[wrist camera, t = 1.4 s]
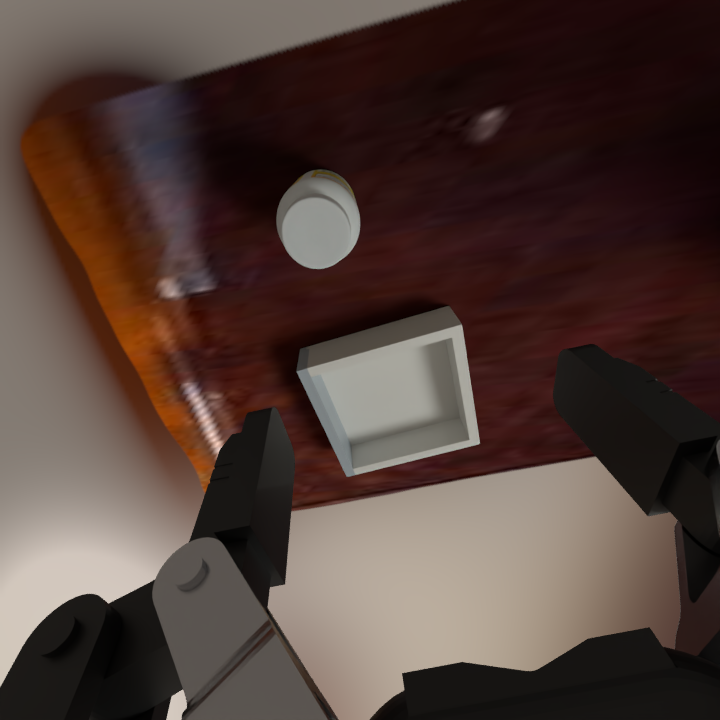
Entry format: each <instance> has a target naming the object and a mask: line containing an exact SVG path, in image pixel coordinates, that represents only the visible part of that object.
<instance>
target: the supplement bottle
mask: <svg viewBox="0 0 720 720" xmlns="http://www.w3.org/2000/svg"><path fill="white" fill-rule="evenodd" d="M276 222H277V230H278V234H279V237H280V239H281V241H282V243H283V245H284V247H285V249H286V250H287V252H288V254H289V255H290V256H291V257H292V258H293V259H294V260H295V261H296V262H298V263H299V264H301V265H303V266H305V267H308V268H312V269H323V268H327V267H330V266H332V265H334V264H336V263H337V262H339V261H340V260H342V259H343V258H344V257H346V256H347V255H348V254H349V253H350V251H351V250H352V249H353V247H354V246H355V244H356V242H357V239H358V236H359V231H360V215H359V211H358V207H357V204H356V200H355V196H354V194H353V191H352V189H351V187H350V186H349V184H348V183H347V182H346V181H345V180H344V179H343V178H342V177H341V176H340V175H338V174H336V173H334V172H332V171H328V170H322V169H319V170H313V171H310V172H307V173H305V174H304V175H302V176H301V177H300V178H299V179H298V180H297V181H296V182H295V183H294V184H293V185H292V186H291V187H290V188H289V189H288V190H287V191H286V193H285V194H284V195H283V197H282V199H281V201H280V203H279V206H278V210H277V218H276Z"/></svg>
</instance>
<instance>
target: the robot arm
mask: <svg viewBox="0 0 720 720" xmlns="http://www.w3.org/2000/svg"><path fill="white" fill-rule="evenodd" d="M553 399H554V404H555V407H556V409H557V411H558V413H559V414H560V415H561V417H562V418H563V419H564V420H565V421H566V422H567V424H568V425H569V426H570V427H571V428H572V429H573V431H574V432H575V433H576V434H577V435H578V436H579V437H580V439H581V440H582V441H583V442H584V443H585V444H586V445H587V447H588V448H589V449H590V450H591V451H592V452H593V454H594V455H595V456H596V457H597V458H598V459H599V460H600V462H601V463H602V464H603V465H604V466H605V467H606V468H607V470H608V471H609V472H610V473H611V474H612V475H613V477H614V478H615V479H616V480H617V481H618V482H619V483H620V485H621V486H622V487H623V488H624V489H625V490H626V492H627V493H628V494H629V495H630V496H631V497H632V498H633V500H634V501H635V502H636V503H637V504H638V505H639V506H640V508H641V509H642V510H643V511H644V512H645V513H646V515H647V516H652V515H657V514H663V513H668V512H671V513H672V514H673V515H674V517H675V518H676V519H677V520H678V521H677V523H676V525H675V530H674V532H675V544H676V557H677V569H678V582H679V594H680V620H679V625H678V629H677V633H676V639H675V649H670V648H666V647H662V645H661V644H660V642H659V641H658V639H657V638H656V636H655V635H654V633H653V632H652V630H651V629H650V628H644V629H638V630H633V631H627V632H622V633H616V634H611V635H606V636H600V637H595V638H590V639H587V640H585V641H584V642H582V643H581V644H579V645H577V646H576V647H574V648H572V649H571V650H569V651H567V652H566V653H564V654H563V655H561V656H559V657H558V658H556V659H554V660H553V661H551V662H549V663H548V664H546V665H545V666H543V667H541V668H540V669H538V670H535V671H521V670H514V669H507V668H500V667H493V666H486V665H478V664H472V663H464V662H461V663H455V664H450V665H444V666H439V667H434V668H428V669H423V670H418V671H412V672H407V673H402V676H403V682H404V689H405V690H404V691H403V692H401V693H399V694H397V695H396V696H394V697H393V698H391V699H390V700H389V701H388V702H387V703H385V704H384V705H383V706H382V707H381V708H380V709H379V710H378V711H377V712H376V713H375V714H374V715H373V716H372V718H371V719H370V720H720V423H718V422H717V421H716V420H714V419H713V418H711V417H710V416H709V415H707V414H706V413H704V412H703V411H702V410H700V409H699V408H697V407H696V406H694V405H693V404H692V403H690V402H689V401H687V400H686V399H685V398H683V397H682V396H680V395H679V394H678V393H676V392H675V393H673V392H672V389H671V388H669V387H668V386H666V385H665V384H663V383H662V382H658V381H657V379H656V378H655V377H654V376H652V375H651V374H649V373H648V372H647V371H645V370H644V369H642V368H641V367H639V366H637V365H634V364H632V363H629V362H627V361H624V360H622V359H619V358H613V357H612V356H610V355H609V354H608V353H606V352H605V351H604V350H602V349H601V348H599V347H598V346H596V345H594V344H589V345H584V346H579V347H574V348H569V349H564V350H562V351H561V352H560V354H559V357H558V364H557V371H556V378H555V384H554V391H553ZM214 467H215V469H214V470H213V472H212V475H211V478H210V484H208V487H207V490H206V493H205V496H204V499H203V503H202V505H201V509H200V511H199V514H198V517H197V521H196V524H195V527H194V529H193V532H192V536H191V538H190V541H189V543H187V544H185V545H184V546H182V547H181V548H179V549H178V550H177V551H176V552H175V553H173V554H172V556H171V557H170V558H169V559H168V560H167V561H166V562H165V563H164V565H163V566H162V568H161V569H160V571H159V573H158V575H157V577H156V579H155V580H153V581H152V582H150V583H148V584H146V585H144V586H142V587H140V588H138V589H137V590H134V591H133V592H130V593H129V594H127V595H125V596H123V597H121V598H119V599H117V600H115V601H113V602H111V603H109V604H108V603H107V602H106V601H105V600H103V599H102V598H101V597H100V596H98V595H95V594H85V595H81V596H78V597H75V598H73V599H71V600H69V601H67V602H66V603H64V604H62V605H61V606H60V607H58V608H57V609H55V610H54V611H53V612H52V613H51V614H49V615H48V616H47V617H46V618H45V619H44V620H43V621H42V622H41V623H40V624H39V625H38V626H37V628H36V629H35V630H34V631H33V632H32V634H31V635H30V636H29V638H28V639H27V641H26V642H25V644H24V645H23V647H22V649H21V651H20V652H19V654H18V656H17V658H16V660H15V662H14V663H13V665H12V667H11V669H10V671H9V672H8V674H7V676H6V678H5V680H4V682H3V683H2V685H1V687H0V720H166V718H167V713H168V709H169V704H170V700H171V696H172V695H174V694H176V693H177V692H179V691H181V690H182V689H183V690H184V693H185V696H186V700H187V709H186V710H185V711H184V712H183V714H182V720H338V718H337V716H336V715H335V713H334V712H333V710H332V709H331V707H330V705H329V704H328V703H327V701H326V699H325V698H324V696H323V695H322V693H321V692H320V690H319V689H318V687H317V686H316V684H315V683H314V681H313V679H312V678H311V676H310V675H309V673H308V671H307V670H306V668H305V667H304V665H303V663H302V662H301V660H300V659H299V657H298V655H297V654H296V652H295V651H294V649H293V648H292V646H291V645H290V643H289V641H288V640H287V638H286V636H285V635H284V633H283V632H282V630H281V628H280V627H279V625H278V623H277V622H276V620H275V619H274V617H273V615H272V614H271V612H270V611H269V609H268V608H267V606H268V597H269V589H270V587H273V586H279V585H284V584H285V578H286V566H287V554H288V542H289V530H290V518H291V507H292V495H293V483H294V471H295V458H294V452H293V448H292V445H291V442H290V440H289V437H288V435H287V432H286V430H285V427H284V425H283V422H282V420H281V417H280V415H279V412H278V410H277V409H276V408H275V407H273V408H268V409H263V410H258V411H253V412H249V413H247V415H246V418H245V421H244V425H243V429H242V432H241V433H237V434H232V435H231V436H230V438H229V439H228V440H227V441H226V443H225V444H224V445H223V447H222V448H221V449H220V451H219V454H218V457H217V460H216V463H215V466H214Z"/></svg>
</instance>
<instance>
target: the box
mask: <svg viewBox="0 0 720 720" xmlns="http://www.w3.org/2000/svg"><path fill="white" fill-rule="evenodd" d="M296 372H297V374H298V376H299V378H300V380H301V382H302V384H303V386H304V388H305V390H306V392H307V395H308V397H309V399H310V401H311V403H312V405H313V407H314V409H315V411H316V413H317V415H318V418H319V420H320V422H321V424H322V426H323V428H324V430H325V432H326V434H327V436H328V438H329V441H330V443H331V445H332V447H333V449H334V451H335V453H336V455H337V457H338V459H339V461H340V464H341V466H342V468H343V470H344V472H345V474H346V476H347V477H349V476H353V475H357V474H361V473H365V472H369V471H373V470H377V469H381V468H385V467H389V466H393V465H397V464H401V463H405V462H409V461H413V460H417V459H421V458H425V457H429V456H433V455H437V454H441V453H445V452H449V451H453V450H458V449H462V448H466V447H470V446H474V445H478V444H480V441H479V434H478V427H477V421H476V414H475V408H474V401H473V394H472V388H471V381H470V375H469V368H468V361H467V355H466V348H465V342H464V335H463V328H462V324H461V322H460V321H459V320H458V318H457V317H456V315H455V314H454V312H453V311H452V309H451V308H450V306H446V307H443V308H439V309H436V310H432V311H429V312H425V313H422V314H419V315H415V316H412V317H408V318H405V319H401V320H398V321H394V322H391V323H388V324H384V325H381V326H377V327H374V328H370V329H367V330H363V331H360V332H357V333H353V334H350V335H346V336H343V337H339V338H336V339H332V340H329V341H326V342H322V343H319V344H315V345H312V346H308V347H305V348H301V349H300V353H299V359H298V365H297V371H296Z"/></svg>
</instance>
